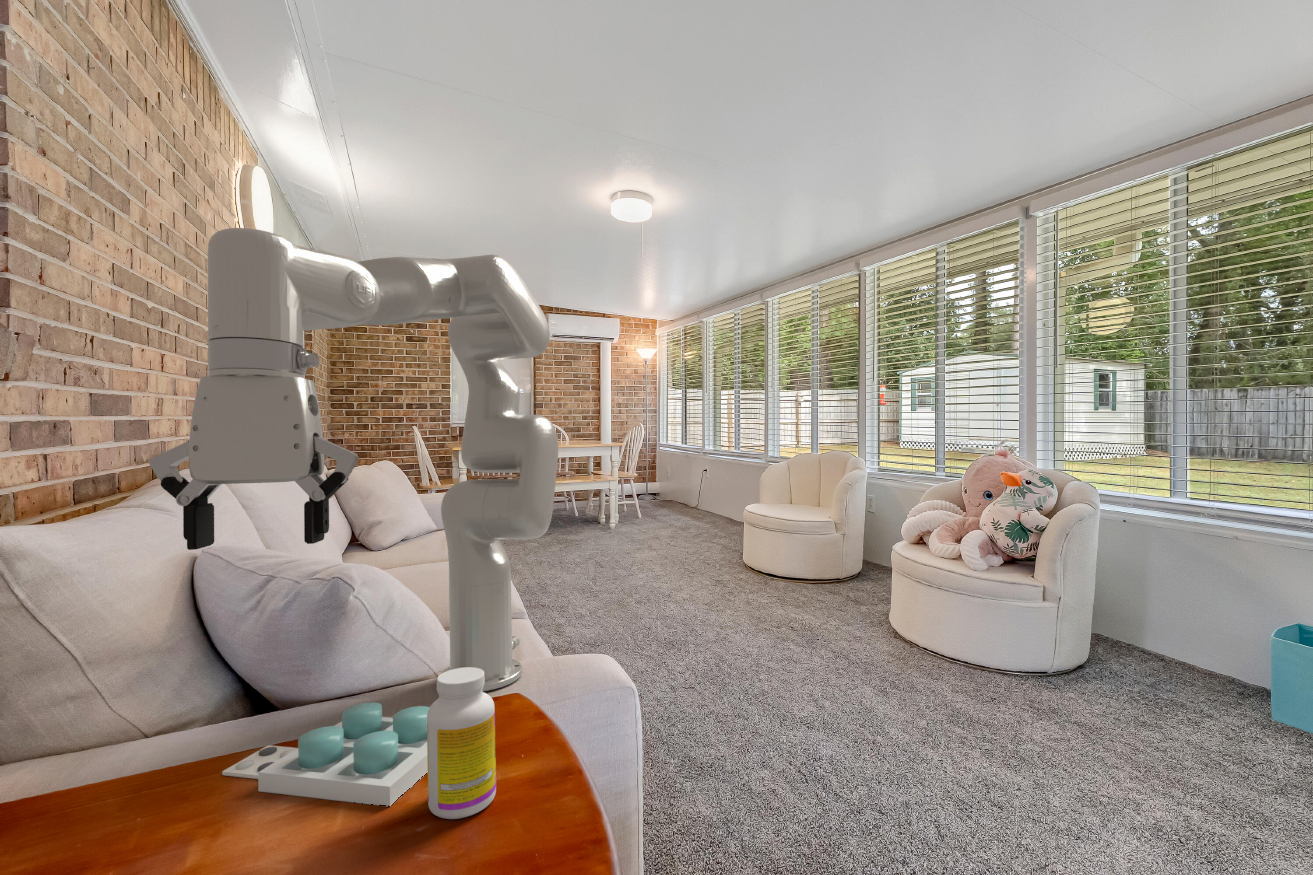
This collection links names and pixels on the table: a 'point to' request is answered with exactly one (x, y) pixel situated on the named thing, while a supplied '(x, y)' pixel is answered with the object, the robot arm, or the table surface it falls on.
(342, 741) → the button
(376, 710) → the button
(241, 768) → the tile
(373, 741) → the button
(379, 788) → the board
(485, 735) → the supplement bottle
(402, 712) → the button
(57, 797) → the table surface
